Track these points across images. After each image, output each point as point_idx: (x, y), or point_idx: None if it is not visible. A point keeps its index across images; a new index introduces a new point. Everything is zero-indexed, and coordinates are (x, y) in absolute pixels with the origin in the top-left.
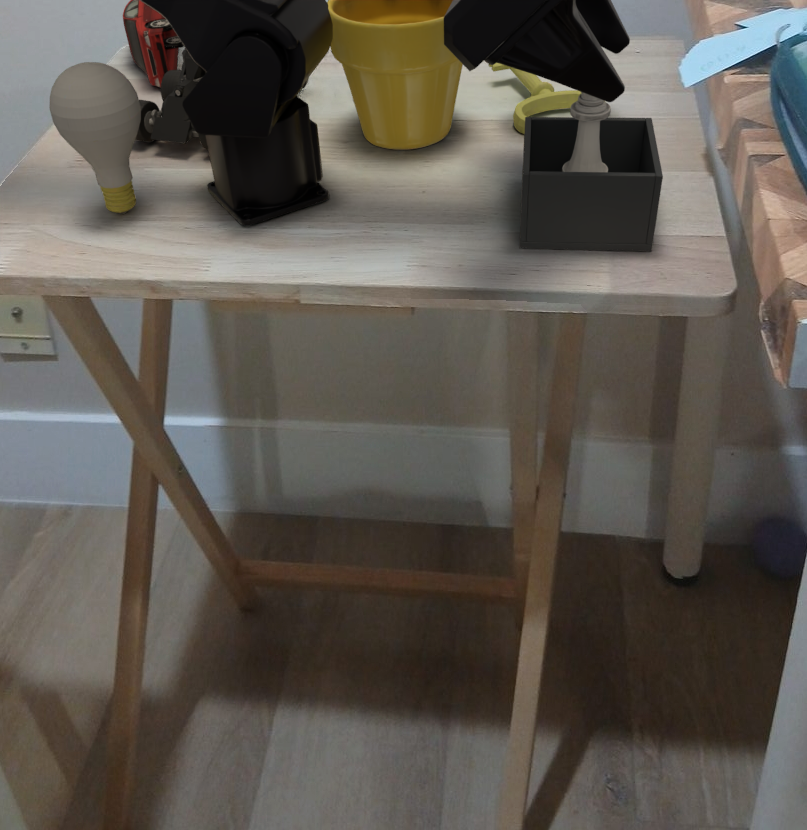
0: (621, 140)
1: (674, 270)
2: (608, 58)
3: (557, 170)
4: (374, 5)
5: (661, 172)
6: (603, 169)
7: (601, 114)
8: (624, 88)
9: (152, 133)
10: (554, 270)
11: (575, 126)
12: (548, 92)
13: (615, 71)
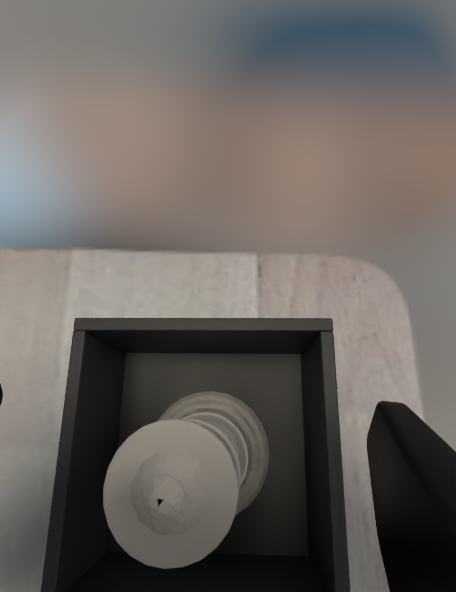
0: (96, 379)
1: (352, 320)
2: (427, 480)
3: None
4: None
5: (317, 319)
6: (210, 421)
7: (233, 446)
8: (401, 403)
9: None
10: None
11: (73, 481)
12: None
13: (419, 441)
